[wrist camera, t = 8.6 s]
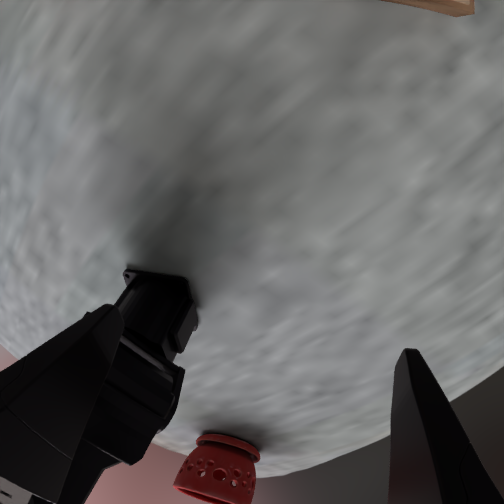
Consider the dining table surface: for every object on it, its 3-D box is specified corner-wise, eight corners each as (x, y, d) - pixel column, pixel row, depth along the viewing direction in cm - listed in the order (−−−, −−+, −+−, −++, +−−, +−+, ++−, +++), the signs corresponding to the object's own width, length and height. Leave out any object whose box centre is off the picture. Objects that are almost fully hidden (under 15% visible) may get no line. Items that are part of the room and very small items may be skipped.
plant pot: (209, 421, 45) (186, 487, 36) (278, 448, 47) (264, 511, 37) (183, 435, 53) (163, 488, 44) (242, 459, 55) (228, 510, 45)
